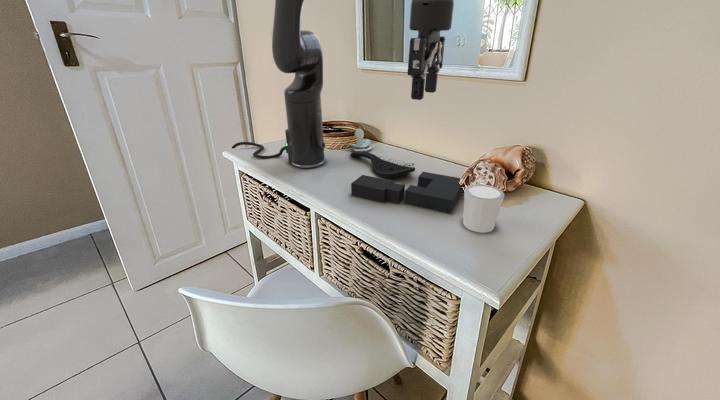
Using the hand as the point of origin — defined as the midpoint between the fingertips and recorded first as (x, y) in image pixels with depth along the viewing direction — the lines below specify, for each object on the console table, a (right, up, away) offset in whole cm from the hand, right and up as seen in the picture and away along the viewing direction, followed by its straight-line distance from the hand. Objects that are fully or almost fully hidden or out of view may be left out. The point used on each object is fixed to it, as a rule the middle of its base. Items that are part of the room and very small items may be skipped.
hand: (423, 95), depth 66 cm
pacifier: (-12, -5, +38) cm, 40 cm away
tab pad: (-8, -20, +9) cm, 23 cm away
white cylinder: (+10, -26, -2) cm, 28 cm away
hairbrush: (-8, -12, +25) cm, 28 cm away
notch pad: (+4, -20, +8) cm, 22 cm away
